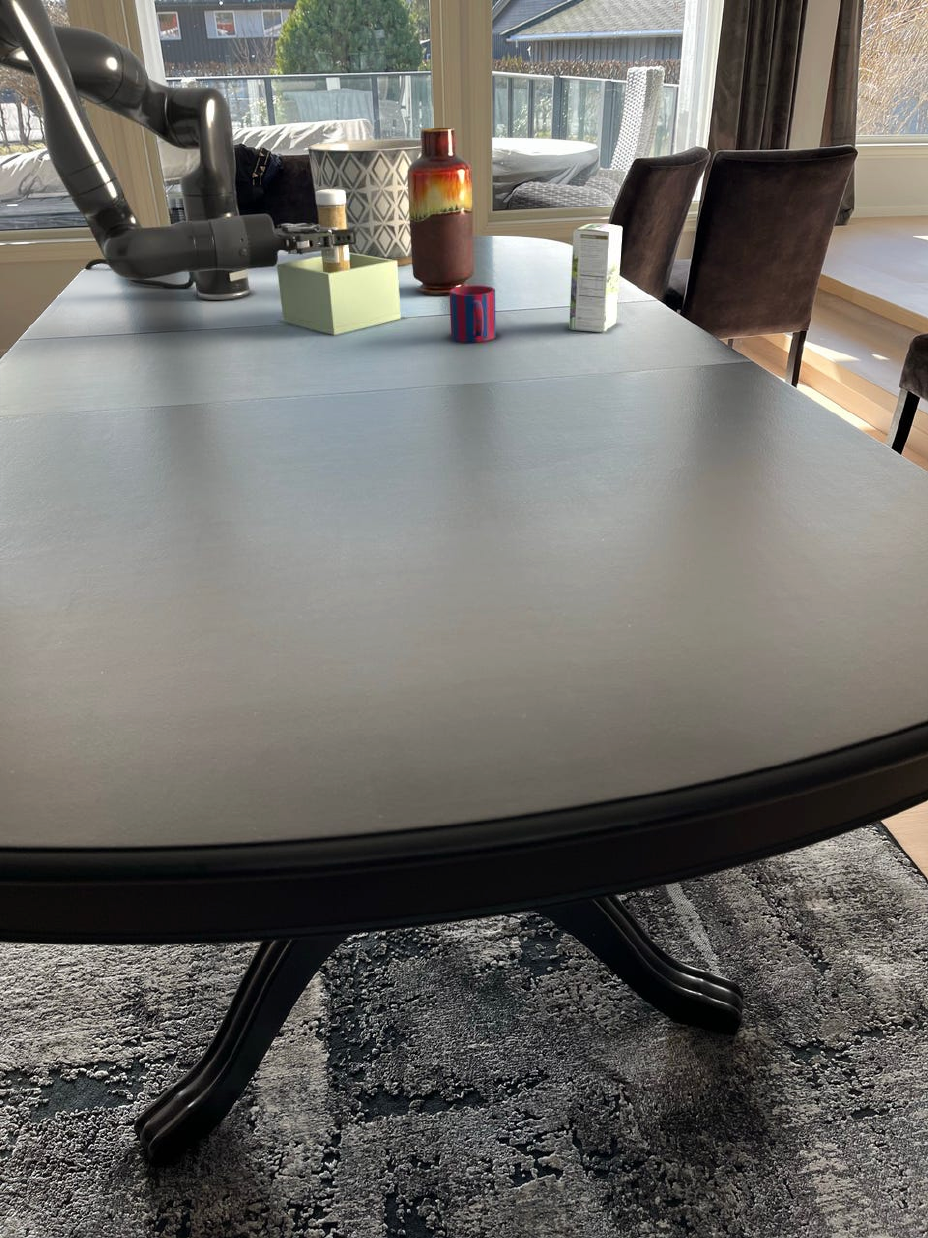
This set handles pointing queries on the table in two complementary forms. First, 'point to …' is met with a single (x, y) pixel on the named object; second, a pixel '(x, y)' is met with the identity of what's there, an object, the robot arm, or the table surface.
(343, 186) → the planter
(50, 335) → the table surface
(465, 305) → the mug
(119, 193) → the robot arm
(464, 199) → the vase
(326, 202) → the sprinkles bottle
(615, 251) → the syrup box
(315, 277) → the open storage bin
